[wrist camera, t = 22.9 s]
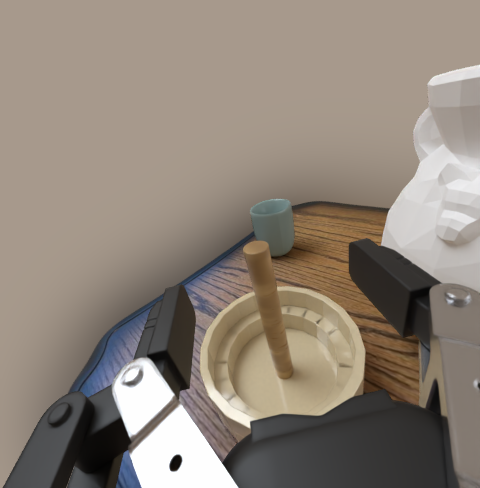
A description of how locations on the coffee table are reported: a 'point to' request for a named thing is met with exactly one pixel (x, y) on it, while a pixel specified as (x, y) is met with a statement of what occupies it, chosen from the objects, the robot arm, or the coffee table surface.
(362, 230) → the coffee table surface
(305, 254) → the coffee table surface
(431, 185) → the white vase
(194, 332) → the robot arm
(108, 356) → the coffee table surface
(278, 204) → the cup
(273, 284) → the stick
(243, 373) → the bowl
